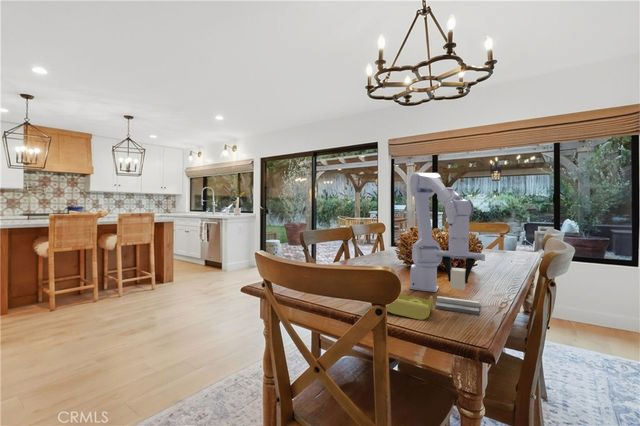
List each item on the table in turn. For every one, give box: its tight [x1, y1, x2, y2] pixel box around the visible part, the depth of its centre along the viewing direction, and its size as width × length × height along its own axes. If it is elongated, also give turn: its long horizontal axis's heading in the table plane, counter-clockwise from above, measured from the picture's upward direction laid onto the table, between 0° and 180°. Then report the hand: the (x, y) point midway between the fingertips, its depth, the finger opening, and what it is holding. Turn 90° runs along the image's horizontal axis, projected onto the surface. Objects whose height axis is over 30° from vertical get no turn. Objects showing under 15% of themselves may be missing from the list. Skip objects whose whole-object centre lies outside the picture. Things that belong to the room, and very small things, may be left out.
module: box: [449, 267, 467, 291], centre depth 97 cm, size 4×5×6 cm
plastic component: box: [386, 293, 435, 321], centre depth 94 cm, size 20×7×10 cm
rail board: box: [434, 295, 480, 316], centre depth 97 cm, size 12×10×2 cm
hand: (458, 281), depth 97 cm, fingers closed on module, 4 cm apart
